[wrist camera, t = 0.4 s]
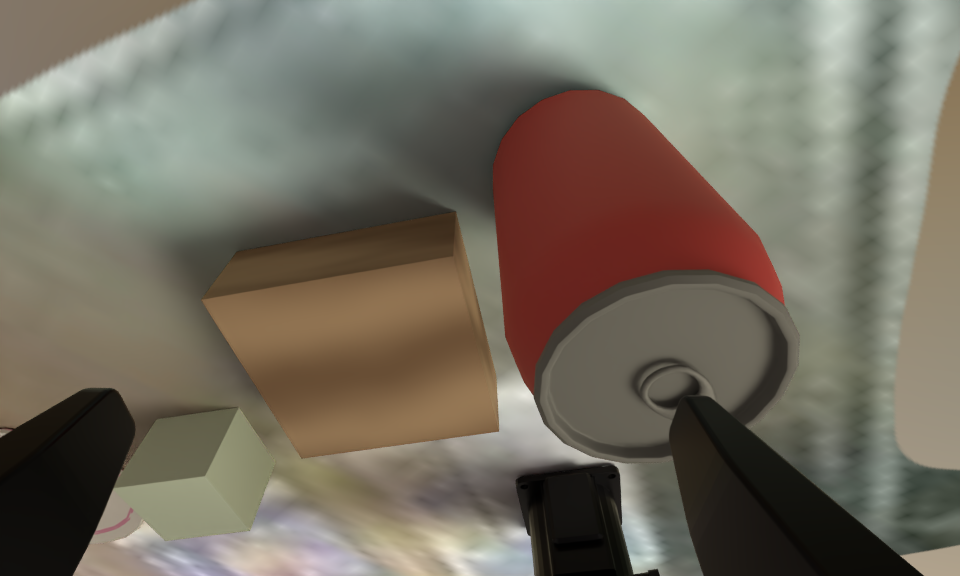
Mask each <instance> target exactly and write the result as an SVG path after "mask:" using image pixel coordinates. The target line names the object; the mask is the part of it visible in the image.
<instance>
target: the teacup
mask: <svg viewBox="0 0 960 576" xmlns="http://www.w3.org/2000/svg"><path fill="white" fill-rule="evenodd" d="M10 431H12V430H11V429H0V437H2V436H3V435H5V434H7V433H9V432H10ZM122 472H123V470H122V469H121V471H120V474H119V476H120V475H121V473H122ZM119 476H118V478H119ZM143 521H144V520H143V519H142V518H141V517H140V516H139V515H138V514H137V513H136V512H135V511H134V510H133V509H132V508H131V507H130V506H129V505H128V504H127V503H126V502H125V501H124V500H123V499H122V498H121V497H120V496H119V495H118V494H117V493H116V492H115V491H114V490H113V491H112V493H111V496H110V498H109V501H108V503H107V506H106V508H105V511H104V513H103V516H102V518H101V520H100V522H99V524H98V527H97V529H96V531H95V533H94V535H93V537H92V539H91V541H90V543H89V544H101V543H107V542H111V541H115V540H118V539H122V538H126V537H127V536H129V535H130V534H132V533H133V532H134V531H136V530H137V529H139V528H140V527H141V525H142V523H143Z"/></svg>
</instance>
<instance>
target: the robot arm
mask: <svg viewBox="0 0 960 576" xmlns="http://www.w3.org/2000/svg"><path fill="white" fill-rule="evenodd" d="M134 436H135V422H134V420H133V418H132V416H131V414H130V412H129V410H128V409H127V407H126V405H125V403H124V401H123V399H122V397H121V395H120V394H119V392H118V391H116V390H115V389H112V388H87V389H83V390H81V391H79V392H77V393H76V394H74V395H72V396H70V397H69V398H67V399H65V400H64V401H62V402H60V403H58V404H57V405H55V406H53V407H52V408H50V409H48V410H46V411H45V412H43V413H41V414H40V415H38V416H36V417H34V418H33V419H31V420H29V421H27V422H26V423H24V424H22V425H21V426H19V427H17V428H15V429H14V430H12V431H10V432H9V433H7V434H5V435H3V436H2V437H0V576H73V574H74V572H75V570H76V568H77V566H78V564H79V562H80V561H81V559H82V557H83V555H84V553H85V551H86V549H87V547H88V545H89V543H90V541H91V539H92V537H93V535H94V533H95V531H96V529H97V527H98V524H99V522H100V520H101V518H102V516H103V513H104V511H105V508H106V506H107V503H108V501H109V498H110V496H111V493H112V491H113V489H114V486H115V484H116V481H117V479H118V476H119V474H120V471H121V469H122V466H123V464H124V461H125V459H126V457H127V454H128V452H129V449H130V447H131V444H132V442H133V439H134ZM669 443H670V448H671V452H672V457H673V462H674V466H675V471H676V475H677V480H678V484H679V489H680V493H681V498H682V502H683V507H684V511H685V516H686V520H687V524H688V528H689V532H690V536H691V539H692V542H693V545H694V549H695V552H696V555H697V558H698V561H699V564H700V567H701V569H702V572H703V575H704V576H924V575H922V574H921V573H920V572H919V571H918V570H916V569H915V568H914V567H913V566H911V565H910V564H909V563H908V562H907V561H906V560H904V559H903V558H902V557H901V556H900V555H899V554H897V553H896V552H895V551H894V550H893V549H891V548H890V547H889V546H888V545H887V544H885V543H884V542H883V541H882V540H881V539H879V538H878V537H877V536H876V535H875V534H873V533H872V532H871V531H870V530H869V529H868V528H866V527H865V526H864V525H863V524H862V523H860V522H859V521H858V520H857V519H856V518H854V517H853V516H852V515H851V514H850V513H848V512H847V511H846V510H845V509H844V508H842V507H841V506H840V505H839V504H838V503H837V502H835V501H834V500H833V499H832V498H831V497H829V496H828V495H827V494H826V493H825V492H823V491H822V490H821V489H820V488H819V487H817V486H816V485H815V484H814V483H813V482H811V481H810V480H809V479H808V478H807V477H805V476H804V475H803V474H802V473H801V472H800V471H798V470H797V469H796V468H795V467H794V466H792V465H791V464H790V463H789V462H788V461H786V460H785V459H784V458H783V457H782V456H780V455H779V454H778V453H777V452H776V451H774V450H773V449H772V448H771V447H770V446H769V445H767V444H766V443H765V442H764V441H763V440H761V439H760V438H759V437H758V436H757V435H755V434H754V433H753V432H752V431H751V430H749V429H748V428H747V427H746V426H745V425H743V424H742V423H741V422H740V421H739V420H738V419H736V418H735V417H734V416H733V415H732V414H730V413H729V412H728V411H727V410H726V409H724V408H723V407H722V406H721V405H720V404H718V403H717V402H716V401H715V400H714V399H712V398H711V397H709V396H705V395H686V396H683V397H682V398H681V399H680V401H679V403H678V406H677V409H676V412H675V414H674V417H673V420H672V423H671V426H670V429H669ZM516 489H517V493H518V497H519V501H520V505H521V509H522V513H523V517H524V521H525V526H526V530H527V534H528V535H529V536H531V545H532V555H533V565H534V575H535V576H660V575H659V572H658V569H654V570H648V572H646V573H640V574H633V570H632V566H631V562H630V558H629V554H628V550H627V546H626V542H625V538H624V534H623V531H622V527H621V525H622V510H621V486H620V473H619V470H618V468H617V467H615V466H606V467H597V468H589V469H581V470H573V471H565V472H557V473H549V474H541V475H533V476H525V477H520V478H518V479H517V480H516Z"/></svg>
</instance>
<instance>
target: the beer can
mask: <svg viewBox="0 0 960 576" xmlns="http://www.w3.org/2000/svg"><path fill="white" fill-rule="evenodd" d="M493 196H494V208H495V220H496V232H497V243H498V255H499V267H500V279H501V290H502V302H503V314H504V326H505V337H506V340H507V342H508V345H509V347H510V350H511V352H512V355H513V357H514V359H515V362H516V364H517V367H518V369H519V371H520V374H521V376H522V378H523V381H524V383H525V384H526V386H527V387H528V388H529V390H530V391H531V393H532V394H533V395H534V400H535V402H536V405H537V407H538V410H539V413H540V415H541V418H542V420H543V423H544V424H545V425H546V426H547V427H548V428H549V429H550V430H551V431H552V432H553V433H554V434H555V435H556V436H557V437H558V438H559V439H560V440H561V441H562V442H563V443H565V444H567V445H569V446H571V447H573V448H575V449H577V450H579V451H581V452H583V453H585V454H587V455H590V456H592V457H595V458H600V459H605V460H611V461H616V462H621V463H662V462H667V461H672V460H673V457H672V452H671V448H670V443H669V429H670V426H671V423H672V420H673V417H674V414H675V412H676V409H677V406H678V403H679V401H680V399H681V398H682V397H683V396H686V395H705V396H709V397H711V398H712V399H714V400H715V401H716V402H717V403H718V404H720V405H721V406H722V407H723V408H724V409H726V410H727V411H728V412H729V413H730V414H732V415H733V416H734V417H735V418H736V419H738V420H739V421H740V422H741V423H742V424H743V425H745V426H746V427H747V428H748V429H750V428H751V427H753V426H754V425H756V424H757V423H759V422H760V421H761V420H762V419H763V418H764V417H765V416H766V415H767V413H768V412H769V411H770V410H771V409H772V408H773V407H774V406H775V405H776V404H777V403H778V402H779V401H780V400H781V399H782V397H783V396H784V395H785V393H786V391H787V389H788V386H789V384H790V382H791V380H792V378H793V376H794V374H795V372H796V370H797V368H798V366H799V346H800V334H799V332H798V330H797V328H796V326H795V324H794V322H793V320H792V318H791V316H790V314H789V312H788V310H787V308H786V307H785V304H784V298H783V291H782V286H781V284H780V281H779V279H778V277H777V274H776V272H775V270H774V267H773V265H772V263H771V261H770V259H769V257H768V255H767V253H766V251H765V248H764V246H763V244H762V242H761V240H760V238H759V236H758V235H757V234H756V233H755V232H754V231H753V229H752V228H751V227H750V226H749V225H748V224H747V223H746V222H745V221H744V220H743V219H742V218H741V217H740V216H739V215H738V214H737V213H736V212H735V210H734V209H733V208H732V207H731V206H730V205H729V204H728V203H727V202H726V201H725V200H724V199H723V198H722V197H721V196H720V195H719V194H718V193H717V192H716V190H715V189H714V188H713V187H712V186H711V185H710V184H709V183H708V182H707V181H706V180H705V179H704V178H703V177H702V176H701V175H700V174H699V173H698V171H697V170H696V169H695V168H694V167H693V166H692V165H691V164H690V163H689V162H688V161H687V160H686V159H685V158H684V157H683V156H682V155H681V154H680V153H679V151H678V150H677V149H676V148H675V147H674V146H673V145H672V144H671V143H670V142H669V141H668V140H667V139H666V138H665V137H664V136H663V135H662V134H661V132H660V131H659V130H658V129H657V128H656V127H655V126H654V125H653V124H652V123H651V122H650V121H649V120H648V119H647V118H646V117H645V116H644V115H643V114H642V113H641V112H640V111H638V110H637V109H636V108H635V107H634V106H632V105H631V104H630V103H629V102H628V101H626V100H625V99H623V98H621V97H618V96H615V95H612V94H609V93H606V92H603V91H600V90H569V91H566V92H564V93H561V94H558V95H555V96H552V97H549V98H546V99H543V100H541V101H540V102H538V103H537V104H536V105H534V106H533V107H532V108H530V109H529V110H527V111H526V112H525V113H523V114H522V115H521V116H519V117H518V118H517V120H516V121H515V122H514V124H513V125H512V126H511V128H510V129H509V130H508V132H507V133H506V134H505V136H504V137H503V138H502V140H501V143H500V146H499V149H498V152H497V155H496V157H495V160H494V163H493Z"/></svg>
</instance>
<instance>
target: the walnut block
mask: <svg viewBox="0 0 960 576" xmlns="http://www.w3.org/2000/svg"><path fill="white" fill-rule="evenodd" d="M201 301H202V302H203V304H204V305H205V307H206V309H207V310H208V312H209V313H210V315H211V316H212V318H213V320H214V321H215V323H216V324H217V326H218V328H219V329H220V331H221V332H222V334H223V335H224V337H225V339H226V340H227V342H228V343H229V345H230V346H231V348H232V350H233V351H234V353H235V354H236V356H237V357H238V359H239V361H240V362H241V364H242V365H243V367H244V369H245V370H246V372H247V373H248V375H249V376H250V378H251V380H252V381H253V383H254V384H255V386H256V387H257V389H258V391H259V392H260V394H261V395H262V397H263V398H264V400H265V402H266V403H267V405H268V406H269V408H270V410H271V411H272V413H273V414H274V416H275V417H276V419H277V421H278V422H279V424H280V425H281V427H282V428H283V430H284V432H285V433H286V435H287V436H288V438H289V439H290V441H291V443H292V444H293V446H294V447H295V449H296V451H297V452H298V454H299V455H300V457H301V458H309V457H316V456H323V455H331V454H338V453H345V452H352V451H360V450H367V449H374V448H382V447H389V446H396V445H404V444H411V443H418V442H425V441H433V440H440V439H447V438H455V437H462V436H469V435H477V434H484V433H491V432H498V431H499V417H498V399H497V380H496V373H495V369H494V365H493V361H492V357H491V353H490V349H489V345H488V341H487V336H486V332H485V328H484V324H483V320H482V316H481V312H480V308H479V304H478V300H477V296H476V292H475V288H474V283H473V279H472V275H471V271H470V267H469V263H468V259H467V255H466V251H465V247H464V243H463V239H462V235H461V231H460V226H459V222H458V218H457V214H456V212H451V213H445V214H440V215H434V216H429V217H423V218H418V219H413V220H407V221H402V222H396V223H391V224H385V225H380V226H374V227H369V228H363V229H358V230H353V231H347V232H342V233H336V234H331V235H325V236H320V237H314V238H309V239H303V240H298V241H293V242H287V243H282V244H276V245H271V246H265V247H260V248H254V249H249V250H243V251H238V252H236V253H235V255H234V256H233V257H232V259H231V260H230V262H229V263H228V264H227V266H226V267H225V268H224V270H223V271H222V272H221V274H220V275H219V276H218V278H217V279H216V280H215V282H214V283H213V284H212V286H211V287H210V288H209V290H208V291H207V292H206V294H205V295H204V296H203V298H202V299H201Z"/></svg>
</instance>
